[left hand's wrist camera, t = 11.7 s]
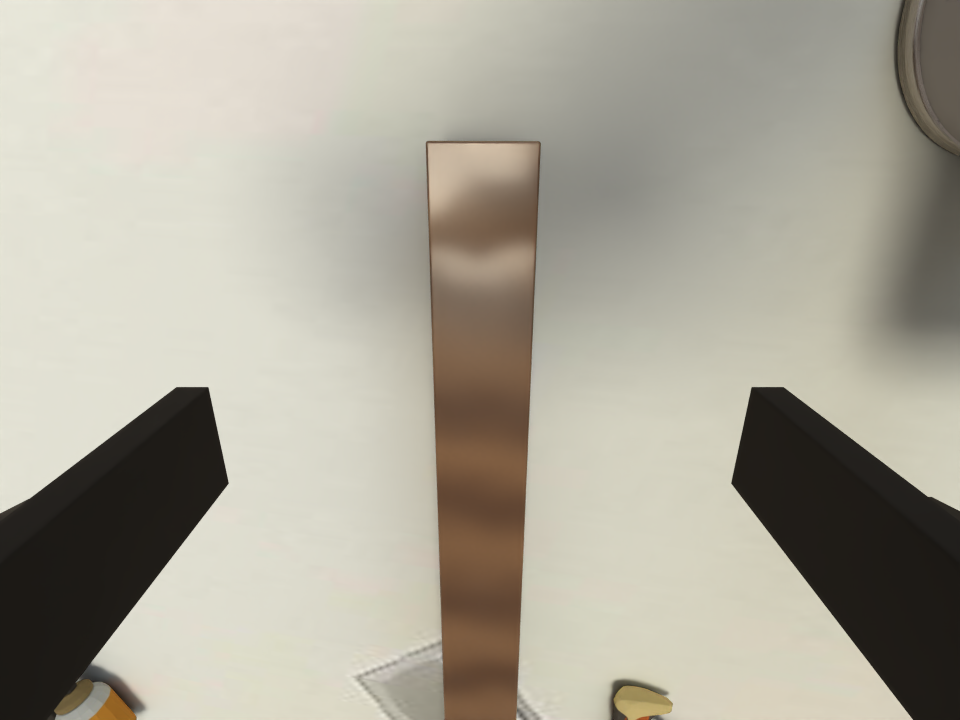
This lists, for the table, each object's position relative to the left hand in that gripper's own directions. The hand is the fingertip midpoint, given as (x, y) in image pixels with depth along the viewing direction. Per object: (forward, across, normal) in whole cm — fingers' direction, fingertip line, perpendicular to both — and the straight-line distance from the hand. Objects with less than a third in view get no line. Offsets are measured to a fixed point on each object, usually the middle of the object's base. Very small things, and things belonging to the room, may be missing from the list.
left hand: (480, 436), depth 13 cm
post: (+21, 0, -32) cm, 38 cm away
